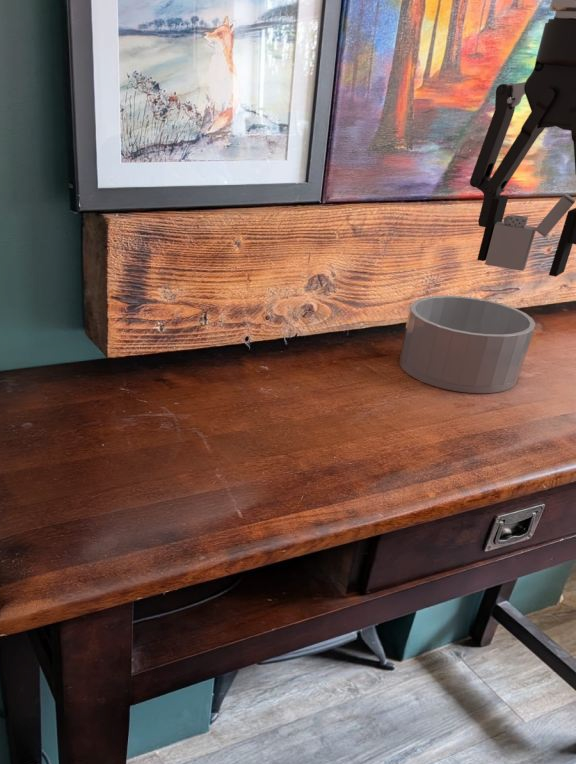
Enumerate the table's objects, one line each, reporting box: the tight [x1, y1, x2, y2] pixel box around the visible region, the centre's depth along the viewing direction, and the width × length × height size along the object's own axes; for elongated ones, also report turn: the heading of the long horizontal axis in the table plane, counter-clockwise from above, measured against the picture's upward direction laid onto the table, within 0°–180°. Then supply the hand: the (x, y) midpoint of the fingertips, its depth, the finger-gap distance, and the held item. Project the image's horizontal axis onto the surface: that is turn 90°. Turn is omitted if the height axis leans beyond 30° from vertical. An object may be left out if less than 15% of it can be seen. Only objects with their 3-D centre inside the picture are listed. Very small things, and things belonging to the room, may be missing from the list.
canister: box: [398, 295, 536, 394], centre depth 104 cm, size 16×16×8 cm
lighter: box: [484, 192, 576, 272], centre depth 80 cm, size 7×2×8 cm, turn 62°
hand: (519, 265), depth 82 cm, fingers closed on lighter, 7 cm apart
